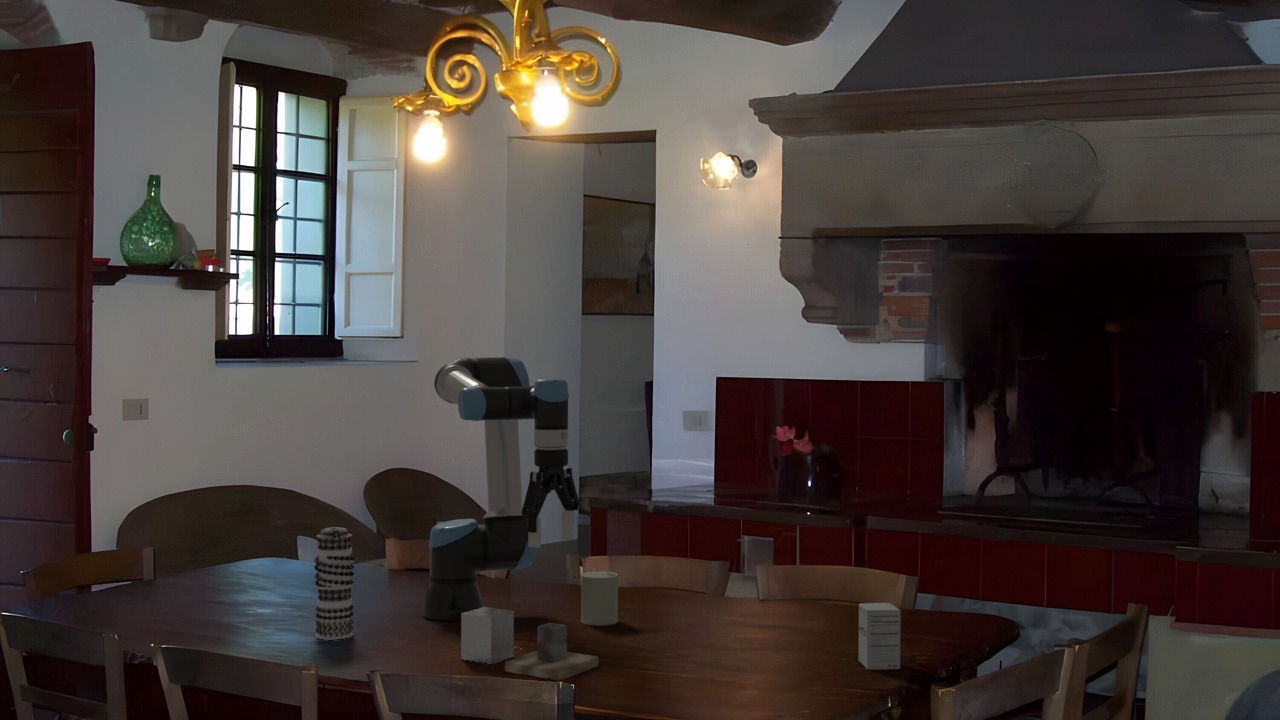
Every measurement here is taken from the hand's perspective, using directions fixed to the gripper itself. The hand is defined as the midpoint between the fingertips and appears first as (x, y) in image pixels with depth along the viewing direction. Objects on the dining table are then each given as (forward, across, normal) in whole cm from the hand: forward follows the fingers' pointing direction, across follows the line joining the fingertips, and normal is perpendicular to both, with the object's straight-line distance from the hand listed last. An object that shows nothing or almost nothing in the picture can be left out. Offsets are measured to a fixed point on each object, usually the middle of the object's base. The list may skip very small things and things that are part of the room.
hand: (551, 543), depth 299 cm
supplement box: (+24, +20, -70) cm, 76 cm away
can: (+23, +28, +4) cm, 37 cm away
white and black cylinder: (+23, -16, +49) cm, 57 cm away
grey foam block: (+23, -16, +6) cm, 29 cm away
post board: (+23, -17, -11) cm, 31 cm away
